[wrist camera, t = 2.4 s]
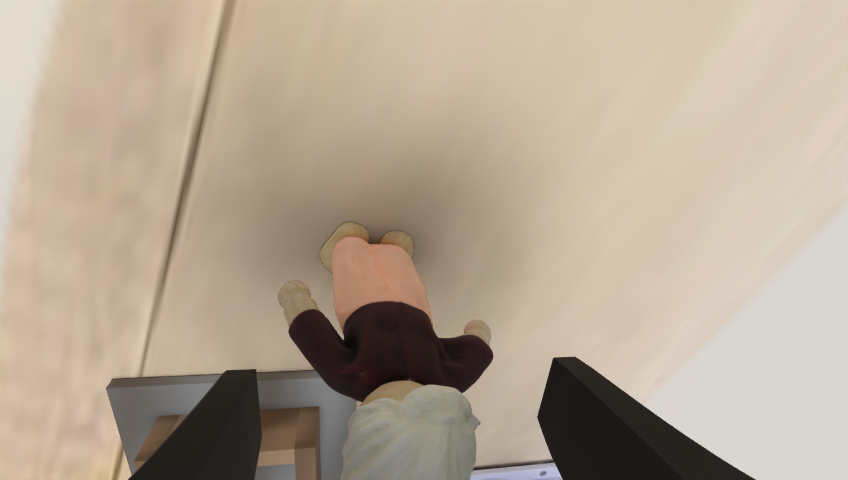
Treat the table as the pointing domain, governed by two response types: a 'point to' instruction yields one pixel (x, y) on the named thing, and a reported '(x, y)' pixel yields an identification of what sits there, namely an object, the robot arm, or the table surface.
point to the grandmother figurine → (390, 361)
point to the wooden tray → (279, 411)
